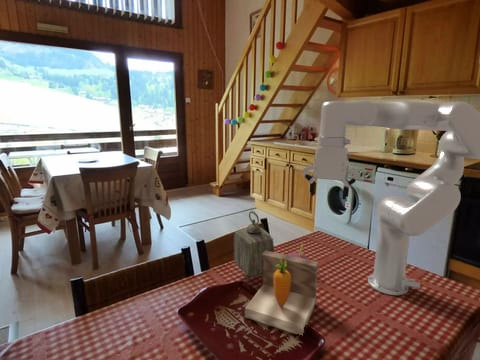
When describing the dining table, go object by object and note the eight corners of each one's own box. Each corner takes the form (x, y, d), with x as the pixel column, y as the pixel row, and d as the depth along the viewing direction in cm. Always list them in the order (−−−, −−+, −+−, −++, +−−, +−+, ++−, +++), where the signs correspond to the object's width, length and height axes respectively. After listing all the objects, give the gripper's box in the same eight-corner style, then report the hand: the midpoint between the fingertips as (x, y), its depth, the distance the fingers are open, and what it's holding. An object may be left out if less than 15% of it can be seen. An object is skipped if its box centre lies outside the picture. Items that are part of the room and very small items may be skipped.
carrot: (289, 313, 84) (291, 264, 81) (272, 311, 85) (273, 263, 82) (289, 302, 89) (291, 256, 86) (273, 301, 90) (274, 255, 86)
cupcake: (311, 269, 114) (312, 240, 112) (303, 279, 107) (304, 248, 105) (290, 263, 119) (291, 235, 116) (281, 272, 112) (282, 242, 109)
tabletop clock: (273, 285, 104) (275, 216, 98) (249, 291, 100) (250, 220, 94) (253, 266, 116) (254, 204, 111) (232, 271, 113) (232, 207, 107)
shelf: (315, 304, 93) (318, 261, 90) (302, 336, 80) (305, 286, 77) (264, 289, 101) (265, 249, 98) (245, 317, 87) (245, 271, 84)
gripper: (363, 143, 91) (358, 197, 95) (307, 140, 99) (304, 191, 102) (361, 145, 84) (356, 203, 88) (301, 142, 92) (298, 196, 96)
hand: (328, 196), depth 95 cm, fingers open, 9 cm apart
